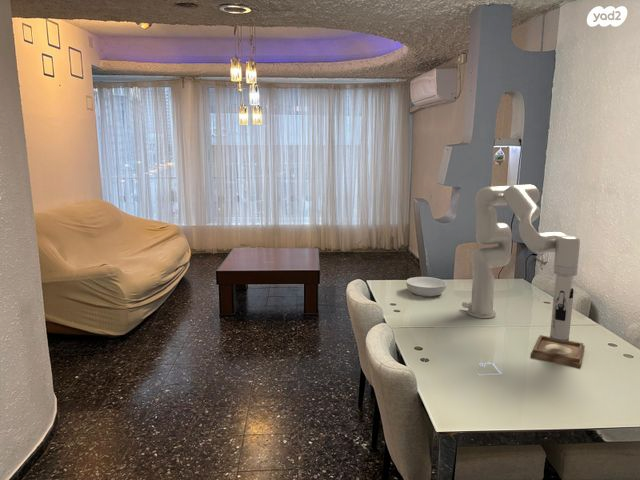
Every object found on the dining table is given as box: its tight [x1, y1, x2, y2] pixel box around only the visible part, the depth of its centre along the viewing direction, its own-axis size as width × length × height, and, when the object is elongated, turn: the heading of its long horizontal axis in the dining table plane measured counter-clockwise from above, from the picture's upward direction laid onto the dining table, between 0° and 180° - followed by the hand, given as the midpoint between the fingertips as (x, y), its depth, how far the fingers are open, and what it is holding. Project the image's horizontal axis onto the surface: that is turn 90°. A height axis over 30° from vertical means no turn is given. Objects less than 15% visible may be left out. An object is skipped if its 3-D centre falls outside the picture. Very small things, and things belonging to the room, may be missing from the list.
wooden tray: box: [530, 334, 586, 369], centre depth 172 cm, size 16×18×3 cm
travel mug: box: [549, 287, 574, 342], centre depth 169 cm, size 6×7×20 cm
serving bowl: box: [405, 276, 448, 297], centre depth 244 cm, size 21×21×7 cm
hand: (561, 316), depth 169 cm, fingers closed on travel mug, 6 cm apart
